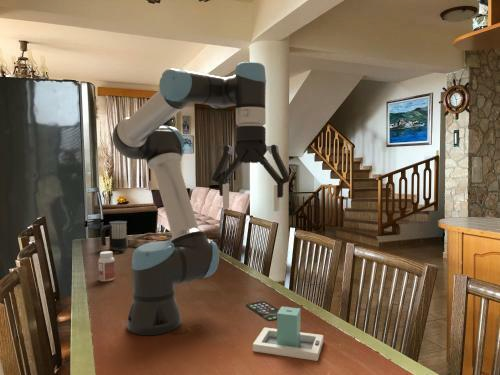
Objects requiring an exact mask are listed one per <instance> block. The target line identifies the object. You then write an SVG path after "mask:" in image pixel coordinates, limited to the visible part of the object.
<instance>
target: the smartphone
mask: <svg viewBox="0 0 500 375" xmlns="http://www.w3.org/2000/svg"><path fill="white" fill-rule="evenodd" d="M245 307H247V308H248V309H249V310H251V311H252V312H254V313H255V314H257V315H258V316H259V317H260V318H262V319H263V320H265V321H267V322H274V321H277V313H278V311H279V310H280V309H279V308H277V307H274V306H273V305H272V304H270V303H268V302H266V301H263V300H261V301H256V302H251V303H246V304H245Z"/></svg>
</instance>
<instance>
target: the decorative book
mask: <svg viewBox="0 0 500 375" xmlns="http://www.w3.org/2000/svg"><path fill="white" fill-rule="evenodd" d="M170 239H171V238H170V237H167V236H163V235H155V236H148V237H143V240H148V241H167V240H170Z"/></svg>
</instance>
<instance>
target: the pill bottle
mask: <svg viewBox="0 0 500 375" xmlns="http://www.w3.org/2000/svg"><path fill="white" fill-rule="evenodd" d="M113 256H114V255H113V250H105V251H101V252H99V259H98V261H97V262H98V263H97V265H98V280H99V282H111V281H113V280H115V278H116V264H115V262H116V261H115V260H116V259H115V257H113Z"/></svg>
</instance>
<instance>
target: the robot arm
mask: <svg viewBox="0 0 500 375" xmlns="http://www.w3.org/2000/svg"><path fill="white" fill-rule="evenodd" d="M266 84H267V76H266V68H265V66H264V64H262V63H260V62H256V61H241V62H239V63H238V64H237V65H236V66H235V71H234V74H233V75H231V76H226V77H224V76H223V77H221V76H217V75H211V74H205V73H200V72H195V71H189V70H186V69H183V68H180V69H179V68H178V69H176V68H167V69H165V70H164V71H163V72H162V74H161V77H160V78H159V84H158V87H159V89H157V91H156V92H155V93H154V94H153V95H151V97H150V98H149V99H148V100H146V102H145V103H143V104H142V105H141V106H140V107H139V108H137V110H135V112H134V113H133V114H132V115H131V116H130V117H124V118H122V119H121V120H120V121H119V122H118V123H117V124H116V125H115V127H114V128H113V131H112V137H111V138H112V143H113V145H114V148H115V149H116V151H118V153H120V155H122V156H124V157H125V158H128V159H132V160H144V161H146V165H147V167H148V169H149V170H152V171H153V172H154V176H155V180H156V183H157V186H158V191H159V195H160V196H161V201H162V205H163V208H164V212H165V215H166V220H167V222H168V225H169V229H170V234H172V238H171V240H170V241H159V242H151V243H147V244H144V245H141V246H139V247H135V249H134V251H133V253H132V261H131V269H132V271H131V272H132V276H131V278H132V303H131V306H130V308H129V311H128V315H127V319H126V329H127V331H128V332H130V333H132V334H134V335H140V336H157V335H162V334H165V333H170V332H172V331H174V330H176V329H177V328H179V327H180V326H181V324H182V315H181V312H180V309H179V308H180V307H179V306H178V302H177V300H176V296H175V286H176V285H180V284H184V283H187V282H192V281H196V280H203V279H204V278H208V277H210V276H212V275H213V274H215V272H216V271H217V269H218V265H219V264H220V263H219V261H220V251H219V248H218V245H217V243H216V242H215V241H214V240H213V239H210V238H208V237H207V235H206V232H205V231H204V230H202V229H200V228H199V225H198V223H197V219H196V216H195V213H194V208H193V206H192V202H191V199H190V195H189V192H188V190H187V186H186V183H185V179H184V176H183V172H182V169H181V167H180V163H181V162H182V160H183V155H184V154H185V141H184V136H183V134H182V133H181V131H180V130H179V129H178V128H176V127H174V126H168V125H165V124H166V122H168V121H169V120H171V119H172V118H173V117H175V116H176V115H177V114H178V113H179V112H181V111H182V110H183V109H185V107H187V106H188V105H190V104H199V105H208V106H210V107H211V108H214V109H219V108H220V109H225V108H229V107H234V106H235V125H237V126H236V128H235V146H231V145H224V147H223V154H222V156H221V158H220V160H219V163H218V165H217V167H216V169H215V171H214V173H213V176H212V181H213V182H216V183H218V185H219V188H218V189H219V190H218V191H219V193H218V194H219V196H220V197H222V210H228V209H230V183H227V182H228V180H229V179H230V178H231V177H232V175H234V173H235V171H237V170H238V168H239V167H240V166H241V165H242V164H243V163H244V164H251V163H252V164H258V163H259V164H260V165H262V166H263V168H264V169H265V170H266V172H267V173H268V174H269V176H270V177H271V178H272V179H273V180H274V181H275V183H276V184H274V185H273V212H279V211H280V198H283V197H284V185H285V184H286V183H289V182H291V180H292V178H291V176H290V174H289V172H288V170H287V167H286V166H285V163H284V162H283V159H282V158H281V156H280V153H279V146H278V145H277V144H271V145H268V146H267V143H266V140H267V138H266V136H267V135H266V133H267V132H266V130H267V129H266V127H265V125H266V121H267V120H266V89H267V86H266ZM267 151H268V153H269V154H270V155H272V158H273V160H274V163H275V165H276V166H277V169H278V171H279V173H280V175H281V176H280V175H279V173H278V172H277V171H276V170H275V169H274V167H273V166H272V165H271V163H270V162H269V160H268V159H267V158H266V157H265V155H266V153H267ZM234 152H235V154H236V155H237V156H236V157H235V158H234V160H233V162H232V163H231V164H230V166H229V167H228V168H227V165H228V163H229V160H230V158H231V155H233V153H234ZM226 168H227V169H226ZM225 170H226V171H225ZM224 171H225V172H224Z"/></svg>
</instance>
